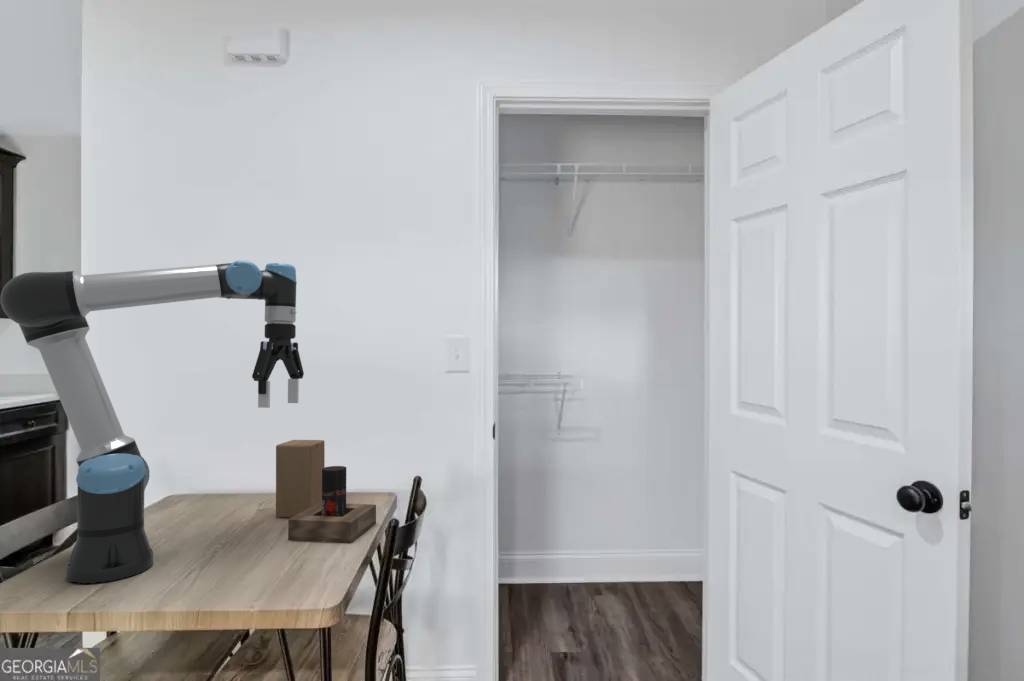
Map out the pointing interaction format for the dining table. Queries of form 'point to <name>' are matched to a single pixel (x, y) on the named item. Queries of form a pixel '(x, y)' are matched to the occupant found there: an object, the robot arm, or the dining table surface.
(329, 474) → the deodorant
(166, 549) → the dining table surface
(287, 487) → the wooden block
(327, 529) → the socket block
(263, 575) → the dining table surface
